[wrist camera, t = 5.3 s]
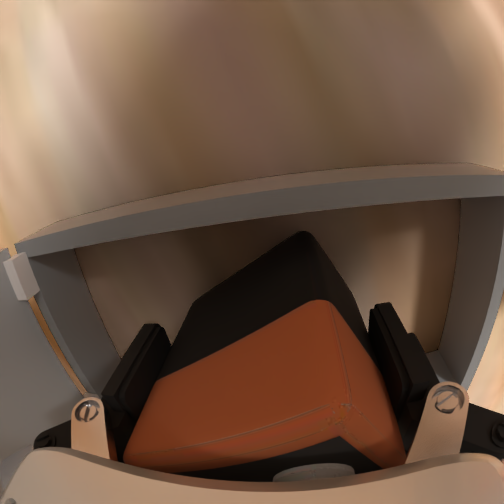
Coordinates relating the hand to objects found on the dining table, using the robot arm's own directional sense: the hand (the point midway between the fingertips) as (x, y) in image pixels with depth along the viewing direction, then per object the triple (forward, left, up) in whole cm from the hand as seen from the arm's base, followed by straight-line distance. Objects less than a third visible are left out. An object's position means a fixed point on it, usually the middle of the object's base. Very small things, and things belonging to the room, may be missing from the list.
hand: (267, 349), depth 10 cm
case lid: (+14, 0, +10) cm, 18 cm away
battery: (0, 0, -4) cm, 4 cm away
